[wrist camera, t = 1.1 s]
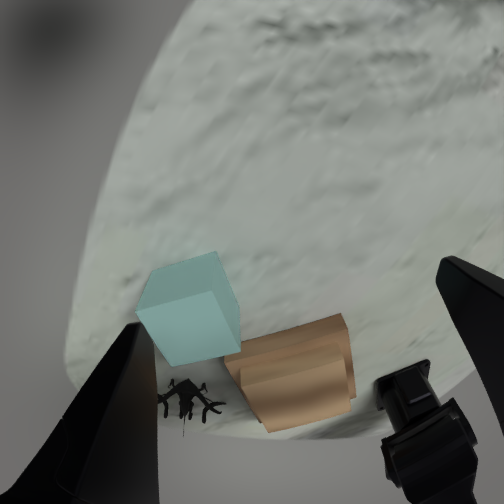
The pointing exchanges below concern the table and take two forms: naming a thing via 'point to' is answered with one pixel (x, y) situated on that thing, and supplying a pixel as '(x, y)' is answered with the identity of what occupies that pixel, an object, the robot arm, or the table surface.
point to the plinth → (292, 346)
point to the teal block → (191, 311)
